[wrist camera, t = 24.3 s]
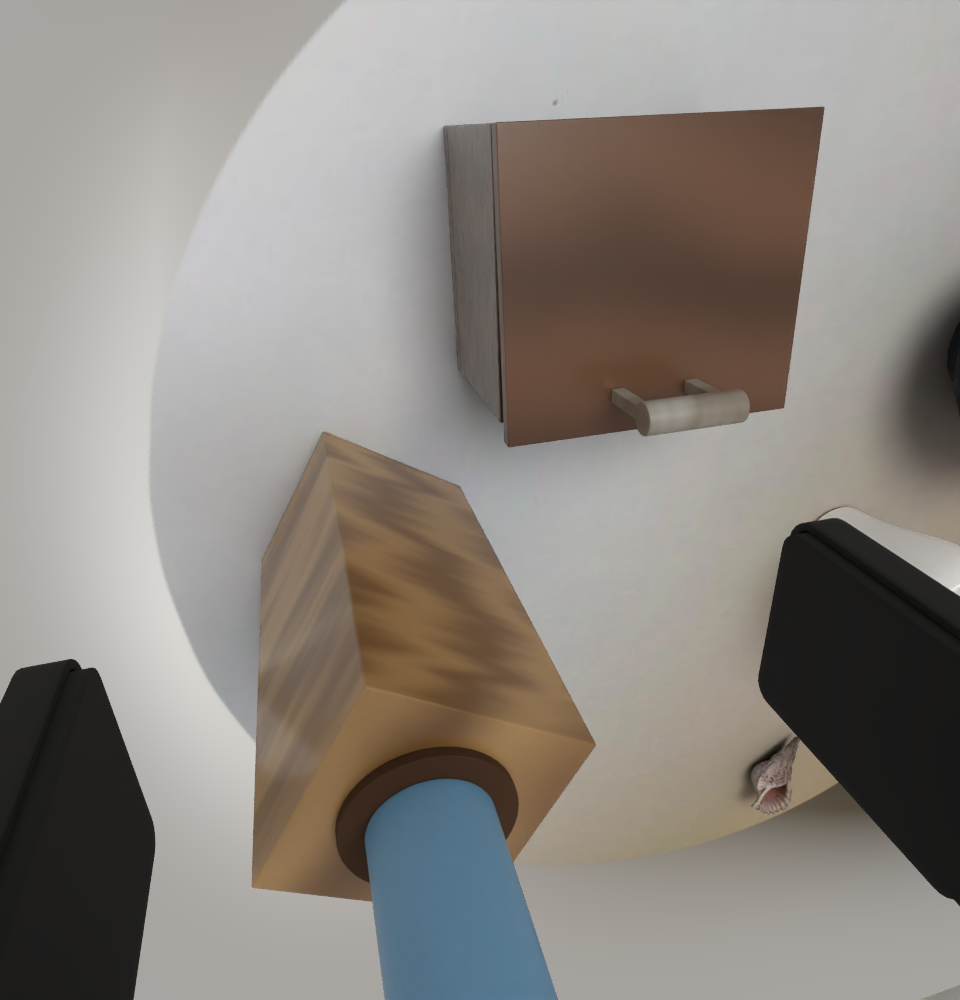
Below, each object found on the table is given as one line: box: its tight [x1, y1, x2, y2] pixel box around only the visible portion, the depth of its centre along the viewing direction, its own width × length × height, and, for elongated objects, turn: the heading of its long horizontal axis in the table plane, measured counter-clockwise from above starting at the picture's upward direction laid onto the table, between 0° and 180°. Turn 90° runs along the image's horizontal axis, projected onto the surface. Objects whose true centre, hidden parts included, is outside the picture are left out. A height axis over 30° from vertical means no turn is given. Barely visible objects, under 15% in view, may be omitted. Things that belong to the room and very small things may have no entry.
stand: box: [252, 432, 596, 901], centre depth 38 cm, size 10×10×24 cm
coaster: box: [335, 747, 519, 883], centre depth 27 cm, size 7×7×1 cm
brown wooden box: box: [444, 123, 504, 423], centre depth 39 cm, size 14×16×10 cm
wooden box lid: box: [491, 107, 824, 447], centre depth 32 cm, size 14×16×5 cm
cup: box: [817, 507, 960, 596], centre depth 54 cm, size 10×10×14 cm
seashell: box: [751, 736, 800, 815], centre depth 69 cm, size 4×8×4 cm
